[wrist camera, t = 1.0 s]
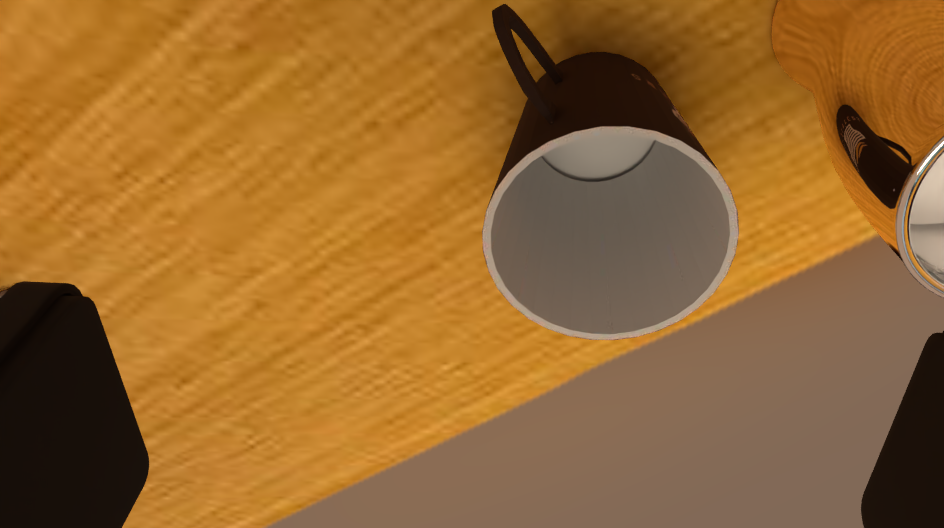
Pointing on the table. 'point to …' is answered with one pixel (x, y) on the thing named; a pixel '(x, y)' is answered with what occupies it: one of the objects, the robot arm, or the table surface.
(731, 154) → the table surface
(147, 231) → the table surface
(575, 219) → the coffee mug
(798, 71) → the beer glass
